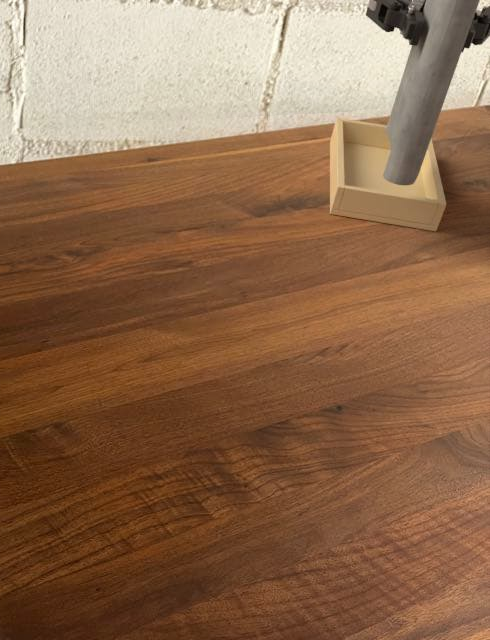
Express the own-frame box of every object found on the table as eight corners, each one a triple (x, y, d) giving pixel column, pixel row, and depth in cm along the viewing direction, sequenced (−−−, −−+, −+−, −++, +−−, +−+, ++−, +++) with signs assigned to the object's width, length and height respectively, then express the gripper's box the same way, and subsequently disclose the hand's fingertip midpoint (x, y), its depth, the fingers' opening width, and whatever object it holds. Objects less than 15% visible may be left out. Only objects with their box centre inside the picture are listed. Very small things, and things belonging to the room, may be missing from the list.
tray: (421, 157, 112) (430, 131, 109) (436, 231, 96) (446, 204, 94) (329, 142, 113) (336, 117, 110) (329, 214, 97) (337, 186, 95)
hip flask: (385, 125, 99) (452, -89, 85) (422, 132, 99) (495, -83, 84) (382, 181, 88) (458, -54, 74) (423, 189, 88) (508, -47, 73)
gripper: (373, -57, 96) (379, -17, 84) (505, -38, 95) (531, 5, 83) (353, 20, 102) (356, 68, 90) (478, 38, 101) (498, 89, 89)
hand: (440, 37), depth 87 cm, fingers closed on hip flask, 4 cm apart
